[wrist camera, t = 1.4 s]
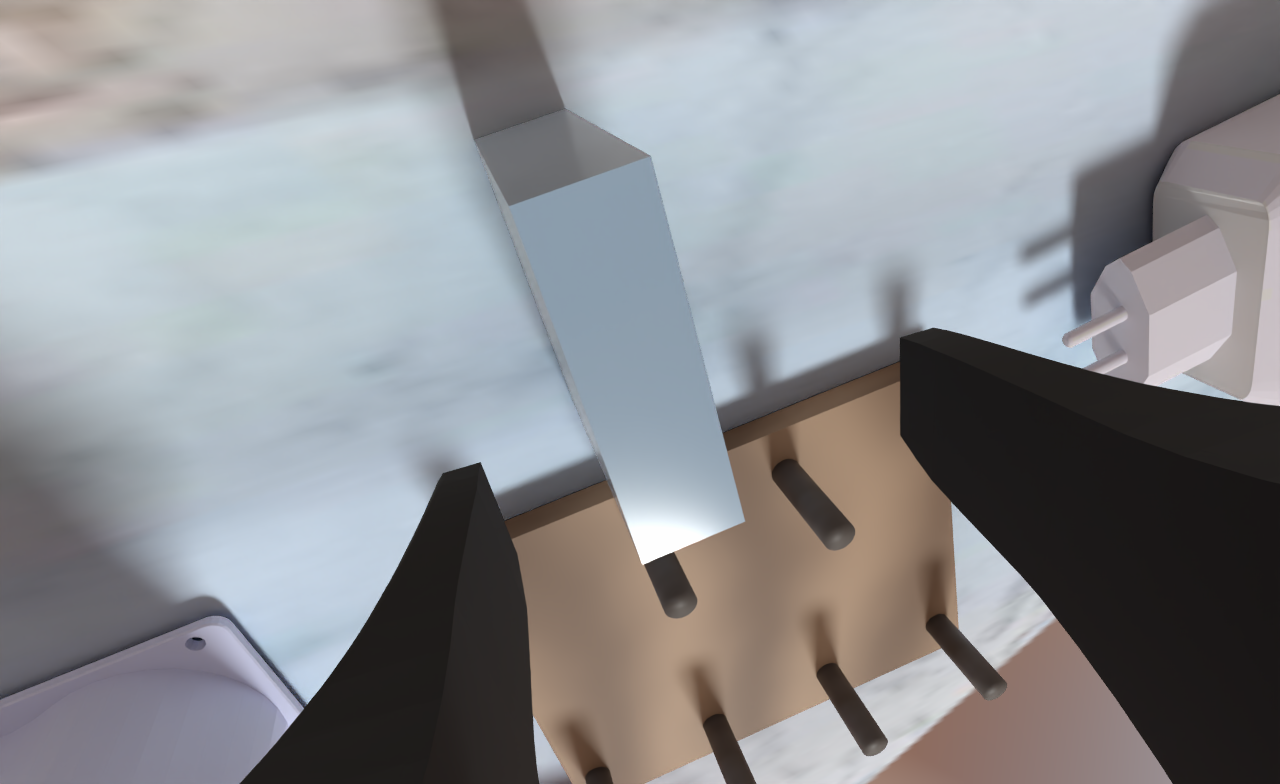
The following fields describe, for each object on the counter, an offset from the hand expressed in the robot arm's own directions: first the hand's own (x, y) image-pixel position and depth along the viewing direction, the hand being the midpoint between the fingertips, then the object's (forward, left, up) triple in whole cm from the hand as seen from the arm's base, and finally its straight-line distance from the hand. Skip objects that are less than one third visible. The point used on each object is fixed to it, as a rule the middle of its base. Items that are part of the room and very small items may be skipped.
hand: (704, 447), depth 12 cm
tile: (0, 0, -9) cm, 9 cm away
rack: (+2, -14, -9) cm, 17 cm away
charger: (+21, -7, -10) cm, 24 cm away
